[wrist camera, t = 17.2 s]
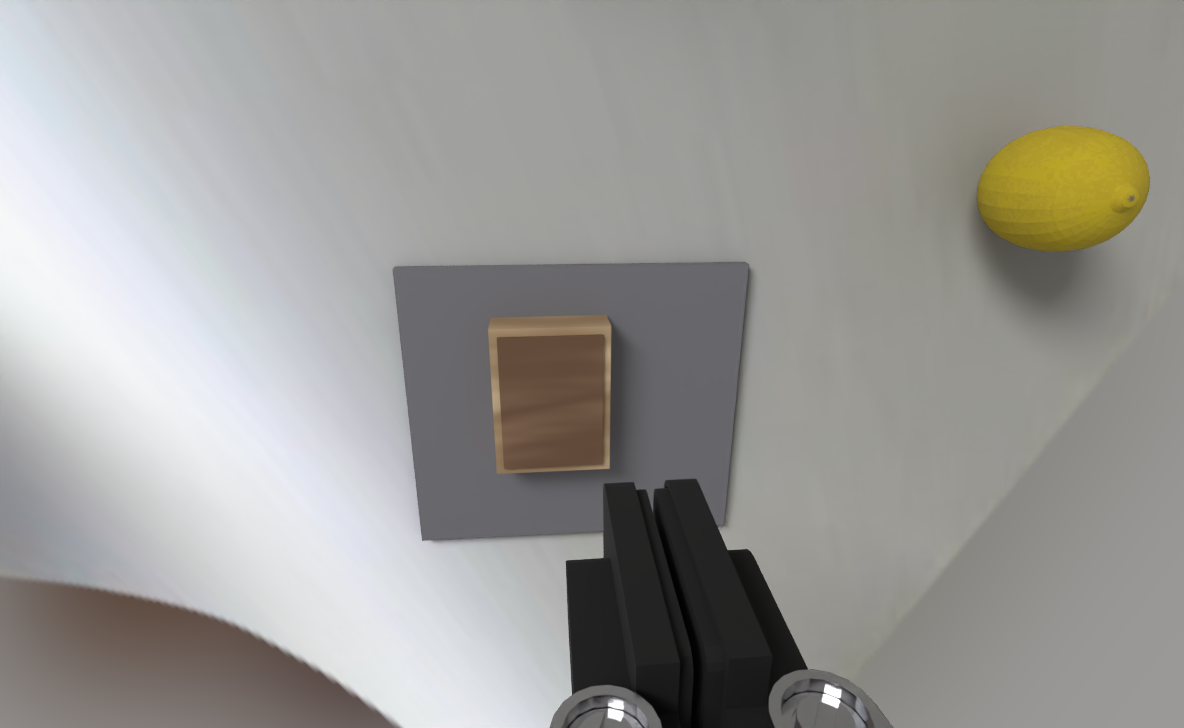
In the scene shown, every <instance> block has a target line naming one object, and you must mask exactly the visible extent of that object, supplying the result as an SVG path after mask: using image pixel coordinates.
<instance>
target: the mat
mask: <svg viewBox="0 0 1184 728" xmlns="http://www.w3.org/2000/svg"><path fill="white" fill-rule="evenodd" d="M748 268H749V264H747V263H746V262H714V263H637V264H559V265H482V266H405V267H394V268H393V276H394V285H395V295H396V304H397V313H398V322H399V332H400V341H401V350H402V359H403V368H404V378H405V387H406V396H407V405H408V414H409V424H410V433H411V442H412V451H413V461H414V470H415V479H416V488H417V497H418V507H419V516H420V525H421V534H422V541H424V540H443V539H463V538H482V537H502V536H521V535H541V534H560V533H580V532H599V531H603V485H604V483H621V482H634V484H635V487H636V490H640V489H646V490H647V493H648V497H649V500H650V504H651V508H652V511H653V496H654V489H658V488H664V483H665V481H666V480H675V479H693V478H695V479H697V481H698V483H699V485H700V487H701V490H702V492H703V494H704V497H705V499H706V501H707V504H708V506H709V508H710V511H711V513H712V515H713V518H714V520H715V522H716V525H724V518H725V507H726V497H727V487H728V476H729V466H730V455H731V445H732V435H733V424H734V414H735V403H736V393H737V383H738V372H739V362H740V352H741V341H742V331H743V320H744V310H745V300H746V289H747V279H748ZM583 315H607V317H608V319H609V322H610V324H611V390H610V469H592V470H570V471H549V472H528V473H507V474H497V468H496V452H495V435H494V419H493V403H492V386H491V370H490V354H489V337H488V327H489V323H490V318H504V317H543V316H583Z"/></svg>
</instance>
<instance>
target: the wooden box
mask: <svg viewBox="0 0 1184 728" xmlns="http://www.w3.org/2000/svg"><path fill="white" fill-rule="evenodd" d="M488 337H489V354H490V370H491V386H492V403H493V419H494V435H495V452H496V468H497V474H507V473H528V472H549V471H570V470H592V469H610V390H611V324H610V322H609V319H608V317H607V315H583V316H543V317H504V318H490V323H489V327H488Z"/></svg>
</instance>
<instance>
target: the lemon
mask: <svg viewBox="0 0 1184 728" xmlns="http://www.w3.org/2000/svg"><path fill="white" fill-rule="evenodd" d="M1149 185H1150V176H1149V171H1148V166H1147V163H1146V162H1145V160H1144V158H1143V156H1142V154H1141V153H1140V152H1139V151H1138V150H1137V149H1136V148H1135V147H1134V146H1133V145H1132V144H1131V143H1129V142H1128V141H1126V140H1125V139H1123V138H1121V137H1119V136H1116V135H1113V134H1111V133H1108V132H1105V131H1103V130H1099V129H1095V128H1090V127H1077V126H1058V127H1051V128H1047V129H1042V130H1038V131H1034V132H1031V133H1028V134H1026V135H1024V136H1022V137H1020V138H1018V139H1016V140H1014V141H1012V142H1010V143H1009V144H1008V145H1006V146H1005V147H1004V148H1003V149H1001V150H1000V151H999V152H998V153H996V155H995V156H994V157H993V158H992V159H991V160H990V162H989V163H988V164H987V166H986V168H985V170H984V171H983V173H982V175H981V178H980V181H979V184H978V190H977V203H978V209H979V212H980V214H981V216H982V218H983V220H984V222H985V223H986V224H987V225H988V226H989V228H990V229H991V230H992V231H993V232H994V233H995V234H997V235H998V236H1000V237H1001V238H1003V239H1005V240H1007V241H1009V242H1011V243H1013V244H1015V245H1017V246H1021V247H1024V248H1030V249H1035V250H1041V251H1067V250H1077V249H1084V248H1087V247H1091V246H1094V245H1097V244H1099V243H1102V242H1104V241H1107V240H1109V239H1110V238H1112V237H1113V236H1115V235H1117V234H1118V233H1120V232H1121V231H1122V230H1124V229H1125V228H1126V227H1127V226H1128V225H1129V224H1130V223H1131V222H1132V221H1133V220H1134V219H1135V218H1136V216H1137V215H1138V214H1139V212H1140V211H1141V209H1142V207H1143V205H1144V203H1145V201H1146V198H1147V195H1148V192H1149Z"/></svg>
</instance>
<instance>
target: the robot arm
mask: <svg viewBox="0 0 1184 728" xmlns="http://www.w3.org/2000/svg"><path fill="white" fill-rule="evenodd" d="M603 537H604V558H600V559H584V560H568V561H566V578H567V604H568V626H569V646H570V664H571V682H572V696H570V697H569V698H568V699H566V700H565V701H564V702H563V703H562V704H561V706H560V707H559V708H558V710H557V711H556V713H555V714H554V716H553V719H552V722H551V725H550V728H893V726H892V725H891V724H890V722H889V721H888V720H887V718H886V717H885V716H884V714H883V713H882V711H881V710H880V709H879V708H878V706H877V705H876V704H875V703H874V702H873V700H872V699H871V698H870V697H869V696H868V695H867V694H866V693H865V692H864V691H863V690H862V689H860V688H859V687H857V686H856V685H855V684H853V683H852V682H850V681H849V680H847V679H845V678H842V677H840V676H838V675H835V674H833V673H830V672H825V671H820V670H814V669H809V670H808V668H807V666H806V664H805V662H804V660H803V658H802V656H801V654H800V652H799V649H798V647H797V645H796V643H795V641H794V639H793V637H792V635H791V633H790V631H789V629H788V627H787V625H786V622H785V620H784V618H783V616H782V614H781V612H780V610H779V608H778V606H777V604H776V602H775V600H774V598H773V595H772V593H771V591H770V589H769V587H768V585H767V583H766V581H765V579H764V577H763V575H762V573H761V571H760V568H759V566H758V564H757V562H756V560H755V558H754V556H753V555H752V553H751V552H750V551H749V550H747V549H742V550H727V548H726V546H725V543H724V541H723V539H722V536H721V534H720V532H719V529H718V527H717V525H716V522H715V520H714V518H713V515H712V513H711V511H710V508H709V506H708V504H707V501H706V499H705V497H704V494H703V492H702V490H701V487H700V485H699V483H698V481H697V479H695V478H693V479H675V480H666V481H665V483H664V488H658V489H654V496H653V511H652V508H651V504H650V500H649V497H648V493H647V490H646V489H640V490H636V487H635V484H634V482H621V483H604V485H603Z"/></svg>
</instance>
